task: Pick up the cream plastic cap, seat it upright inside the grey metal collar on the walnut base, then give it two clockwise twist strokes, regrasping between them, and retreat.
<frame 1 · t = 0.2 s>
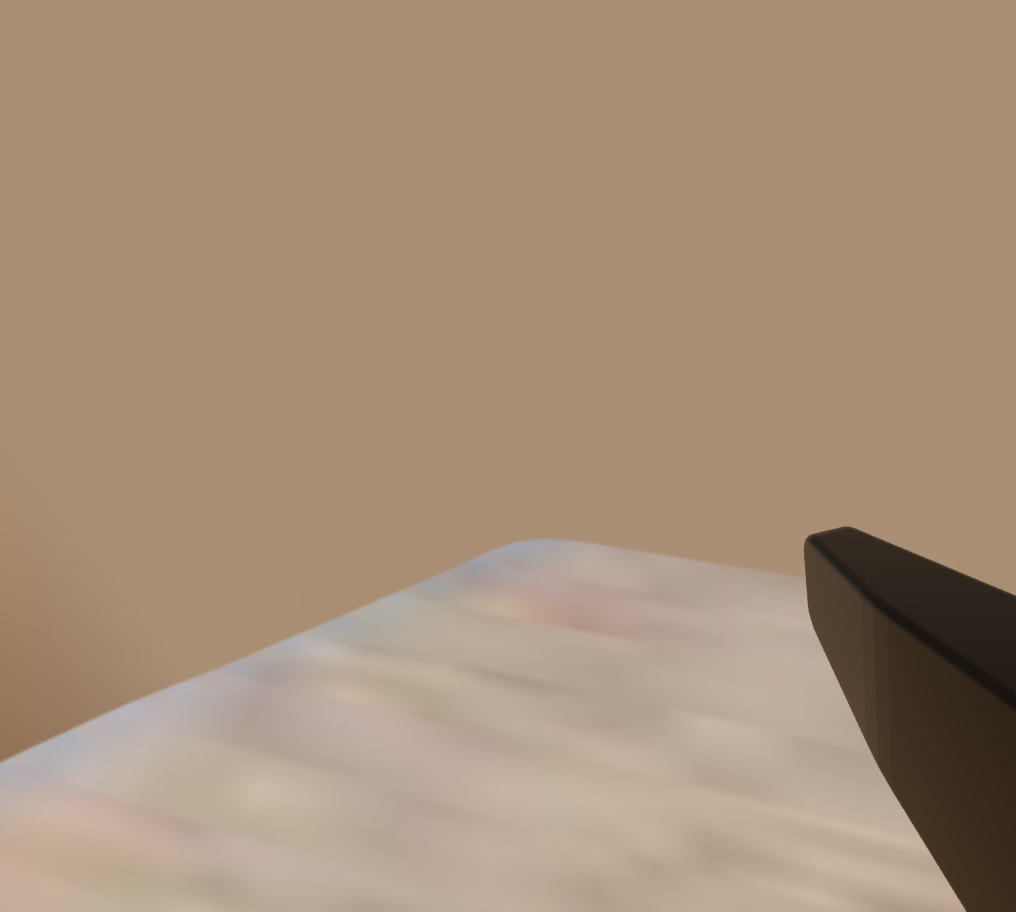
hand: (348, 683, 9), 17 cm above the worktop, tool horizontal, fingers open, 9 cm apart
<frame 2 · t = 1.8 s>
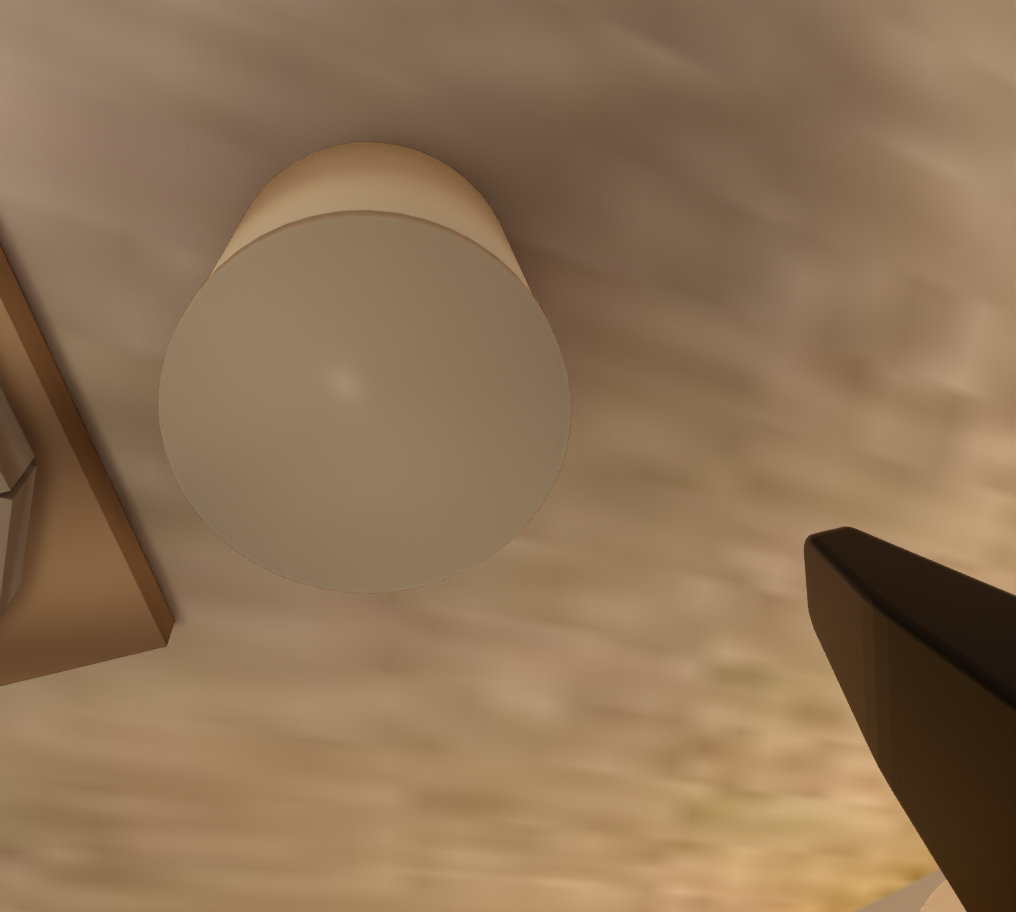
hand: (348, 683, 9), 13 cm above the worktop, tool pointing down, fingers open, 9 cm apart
cap: (374, 287, 21), on the worktop
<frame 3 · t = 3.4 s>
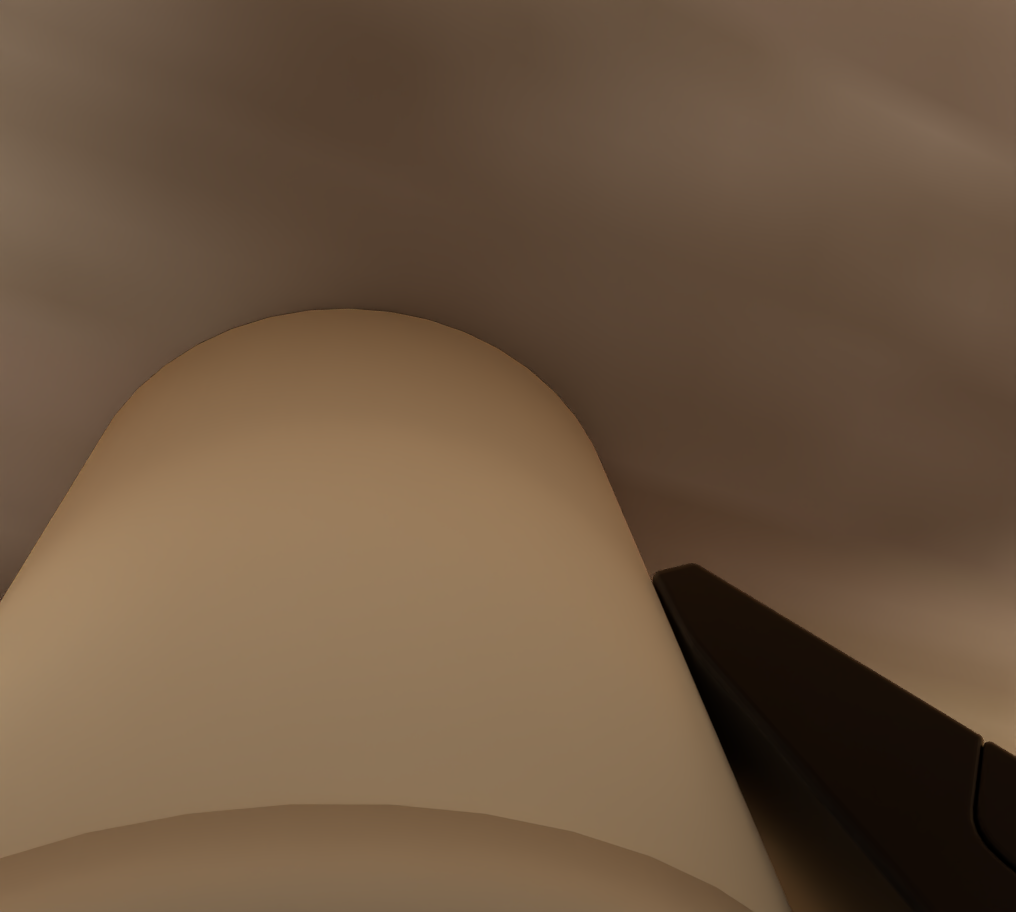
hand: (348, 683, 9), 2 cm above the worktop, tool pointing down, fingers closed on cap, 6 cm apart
cap: (355, 563, 11), on the worktop, touching gripper
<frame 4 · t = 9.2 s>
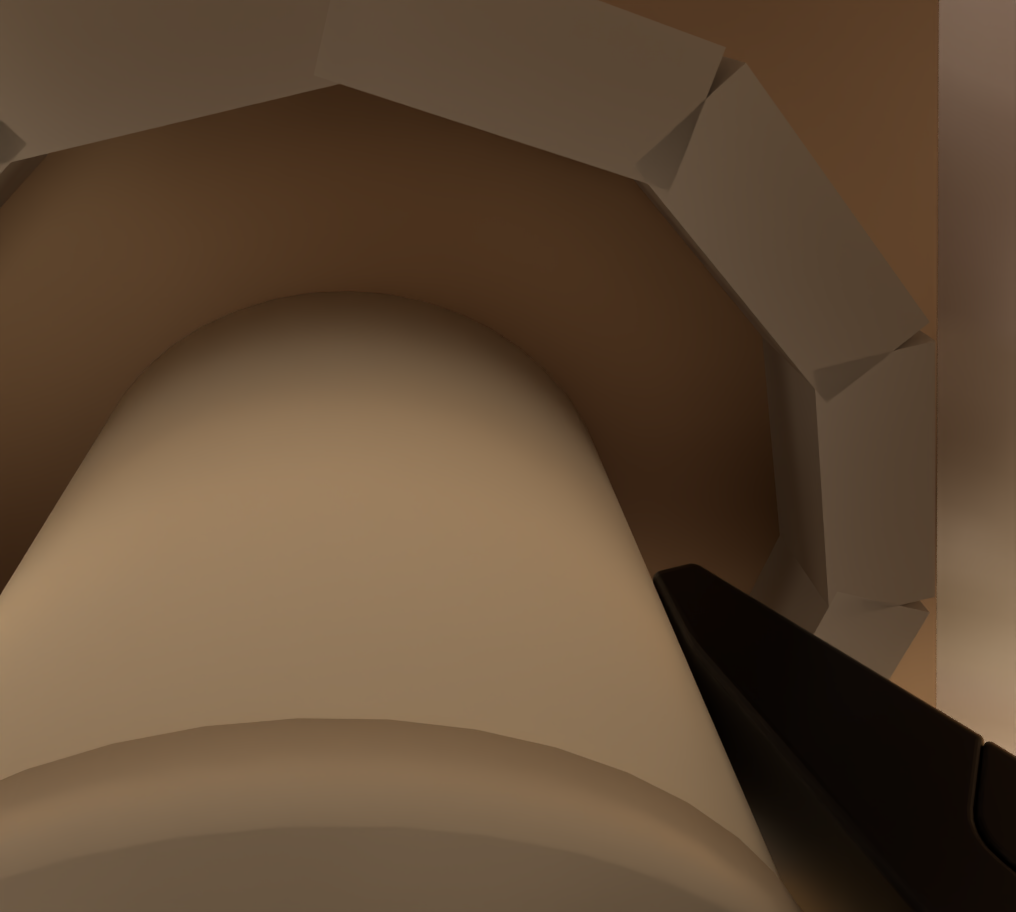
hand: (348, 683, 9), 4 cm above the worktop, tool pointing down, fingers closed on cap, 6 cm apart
collar base: (359, 498, 12), on the worktop
cap: (355, 539, 11), point 1 cm above the worktop, touching collar base, gripper
when the fingers open (3 cm above the worktop, at t = 14.5 s): cap stays where it is, resting on collar base.
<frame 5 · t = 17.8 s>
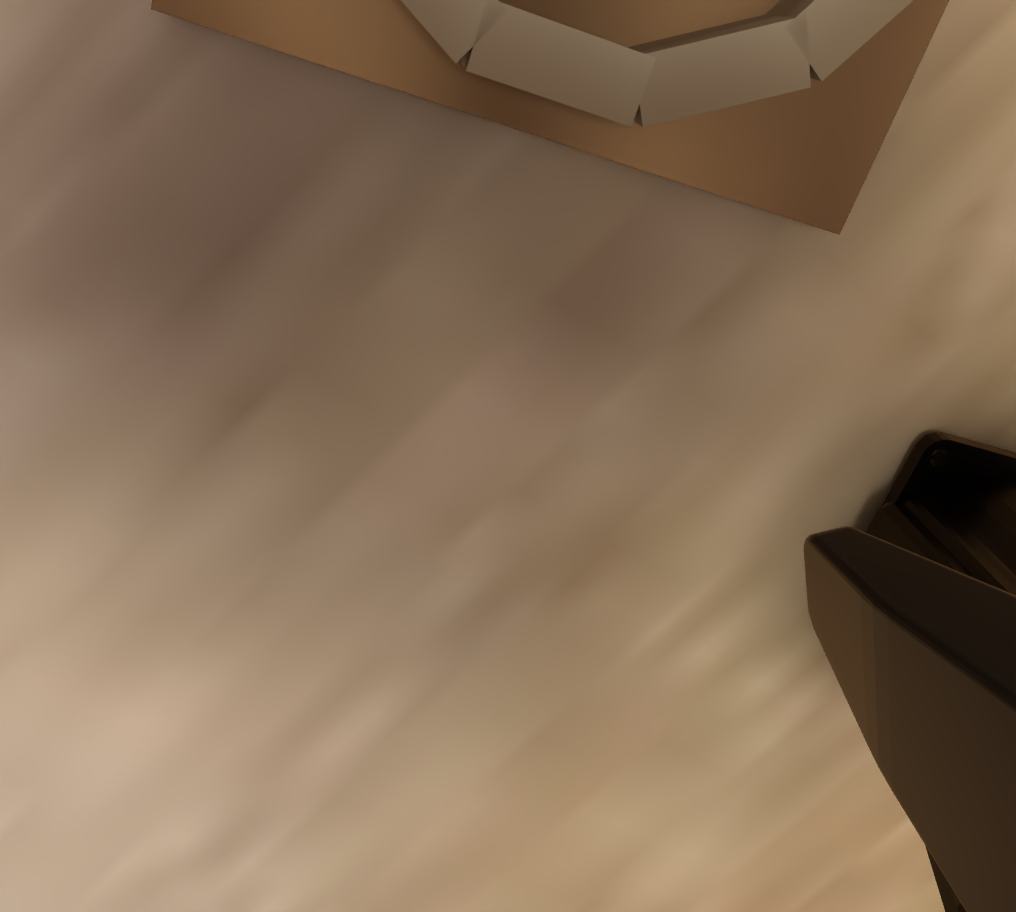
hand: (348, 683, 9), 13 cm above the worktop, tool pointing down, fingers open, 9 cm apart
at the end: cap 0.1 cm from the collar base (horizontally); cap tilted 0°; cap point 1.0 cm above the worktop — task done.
